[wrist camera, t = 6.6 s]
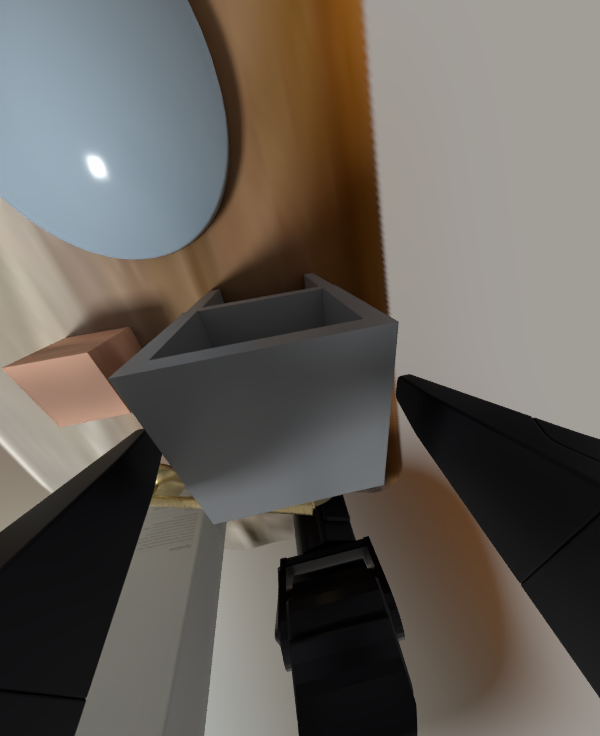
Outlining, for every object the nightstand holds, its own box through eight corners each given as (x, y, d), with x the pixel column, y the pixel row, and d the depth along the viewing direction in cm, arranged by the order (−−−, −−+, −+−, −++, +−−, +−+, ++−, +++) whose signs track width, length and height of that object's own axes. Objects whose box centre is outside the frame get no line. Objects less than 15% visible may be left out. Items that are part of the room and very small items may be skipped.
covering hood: (342, 401, 13) (383, 484, 8) (231, 424, 13) (213, 524, 8) (335, 284, 10) (398, 321, 5) (183, 312, 9) (107, 378, 5)
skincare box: (153, 481, 21) (-10, 831, 9) (216, 472, 22) (151, 785, 9) (179, 524, 26) (96, 803, 13) (232, 515, 26) (202, 772, 14)
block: (158, 377, 16) (130, 413, 13) (103, 387, 16) (59, 427, 13) (130, 326, 14) (87, 352, 11) (66, 337, 14) (1, 368, 10)
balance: (315, 399, 19) (342, 484, 12) (320, 437, 22) (346, 525, 15) (134, 436, 18) (59, 549, 12) (162, 472, 21) (113, 581, 14)
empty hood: (321, 361, 17) (342, 402, 13) (239, 377, 17) (231, 425, 13) (312, 272, 14) (335, 286, 10) (210, 290, 14) (184, 313, 9)
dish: (208, 286, 14) (204, 289, 13) (-35, 205, 10) (-62, 202, 9) (255, 19, 9) (254, -5, 8) (-161, -281, 6) (-235, -372, 5)
